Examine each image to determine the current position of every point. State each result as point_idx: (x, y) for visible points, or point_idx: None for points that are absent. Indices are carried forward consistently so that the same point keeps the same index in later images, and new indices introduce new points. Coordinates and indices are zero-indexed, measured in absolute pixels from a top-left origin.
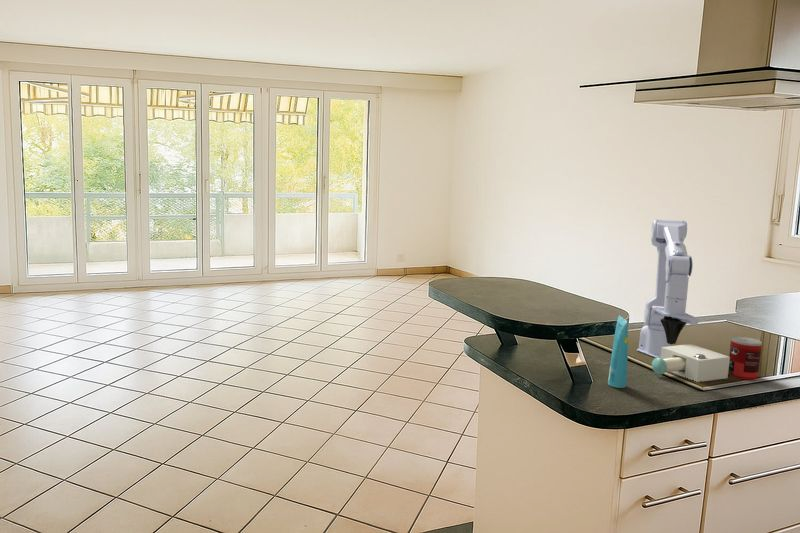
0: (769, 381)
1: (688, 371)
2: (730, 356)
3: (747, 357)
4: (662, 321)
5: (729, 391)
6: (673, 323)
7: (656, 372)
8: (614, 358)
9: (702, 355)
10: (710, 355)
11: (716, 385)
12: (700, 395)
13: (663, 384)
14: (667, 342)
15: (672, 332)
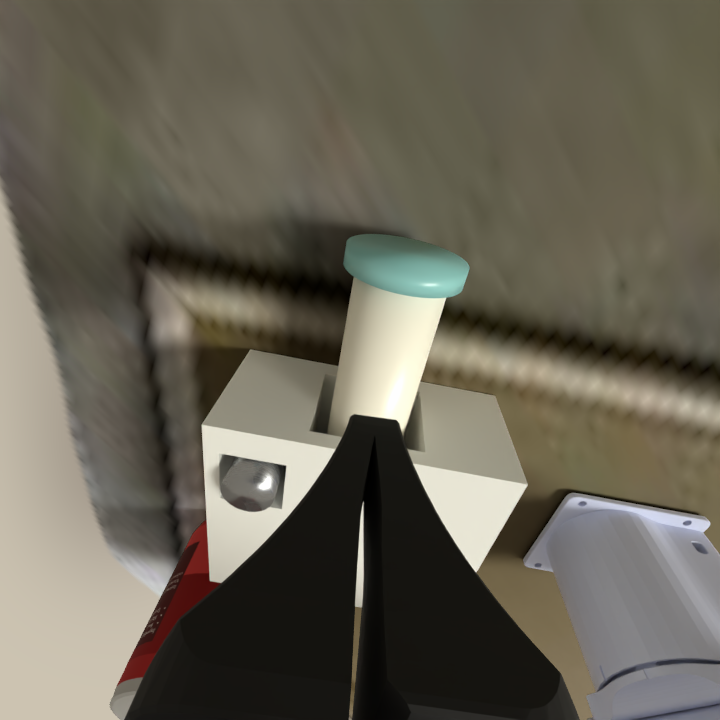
0: (173, 553)
1: (298, 381)
2: None
3: (161, 609)
4: (502, 676)
5: (106, 361)
6: (169, 663)
7: (414, 241)
8: None
9: (240, 497)
10: (260, 543)
11: (187, 385)
12: (72, 169)
13: (295, 137)
14: (391, 422)
15: (297, 508)
